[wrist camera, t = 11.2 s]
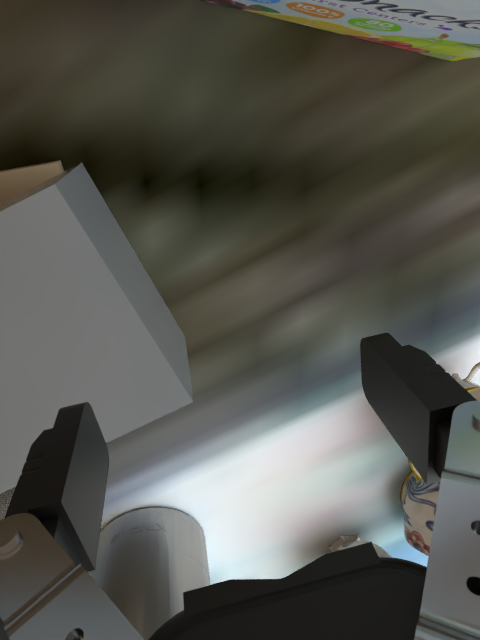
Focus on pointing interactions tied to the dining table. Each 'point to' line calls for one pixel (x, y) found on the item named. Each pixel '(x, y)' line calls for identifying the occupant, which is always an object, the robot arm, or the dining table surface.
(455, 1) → the snack box
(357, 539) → the chinaware
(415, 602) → the robot arm
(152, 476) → the dining table surface
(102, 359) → the slab
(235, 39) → the dining table surface
